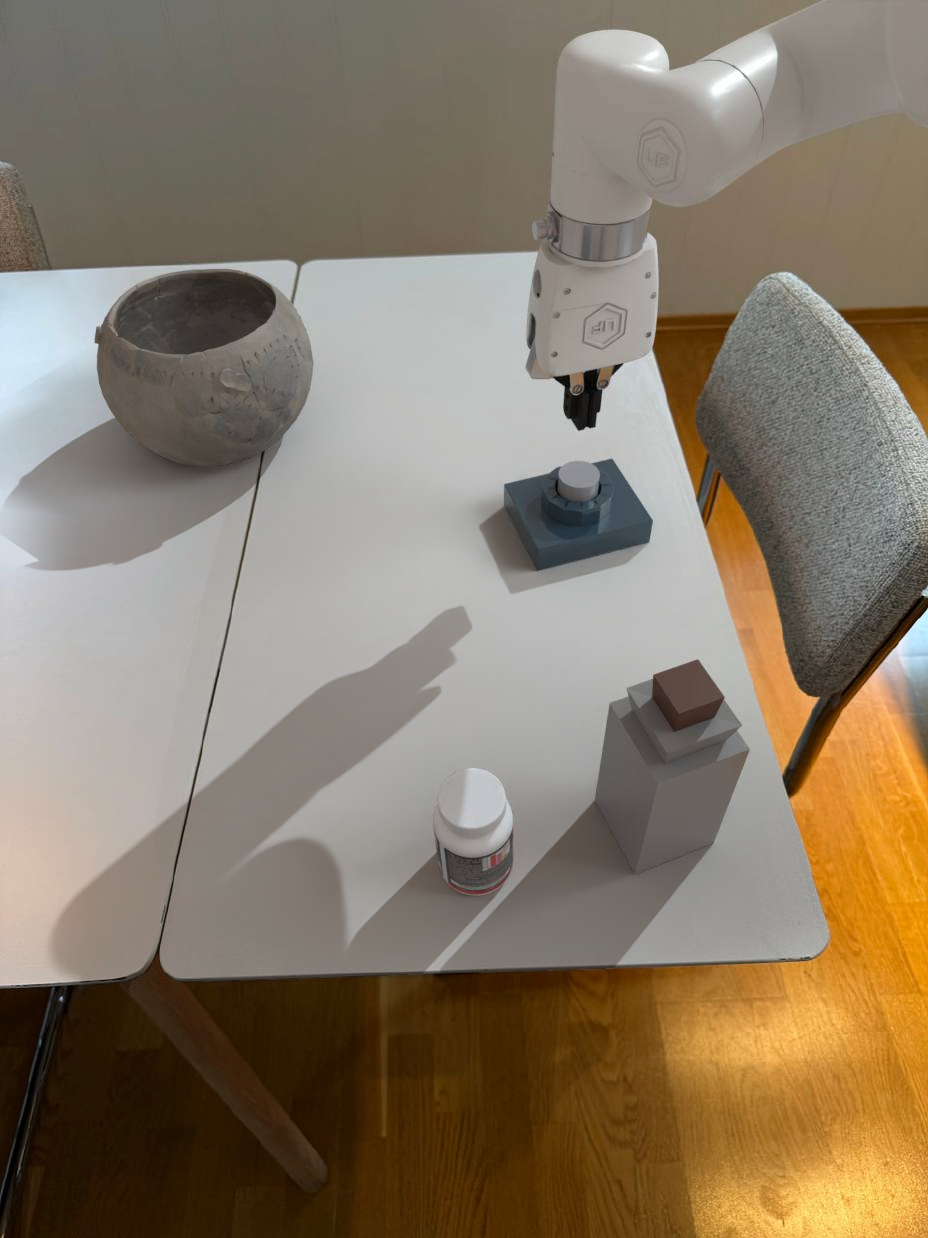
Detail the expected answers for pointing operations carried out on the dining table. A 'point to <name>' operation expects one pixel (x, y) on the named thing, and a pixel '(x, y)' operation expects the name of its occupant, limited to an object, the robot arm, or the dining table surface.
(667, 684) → the perfume bottle
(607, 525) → the button housing
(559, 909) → the dining table surface
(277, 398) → the bowl
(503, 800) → the pill bottle
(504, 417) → the dining table surface
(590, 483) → the grey button cap
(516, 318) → the dining table surface
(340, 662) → the dining table surface
